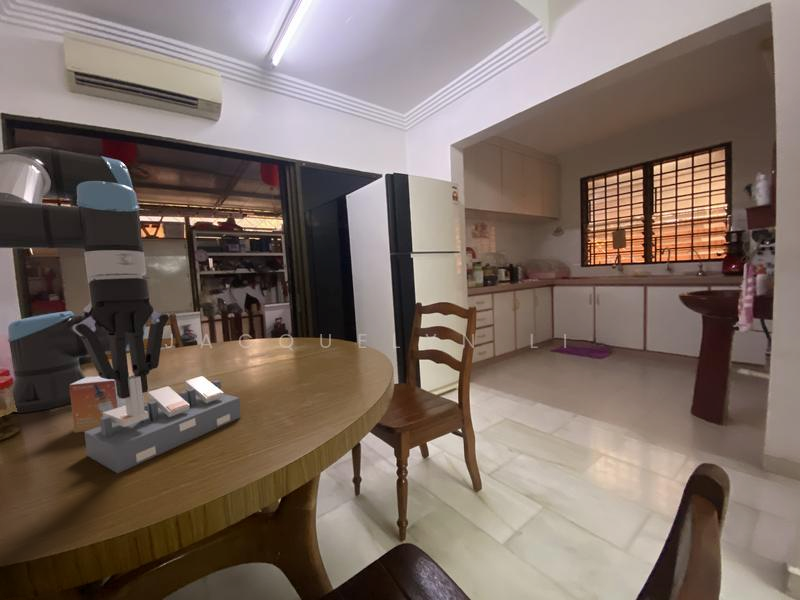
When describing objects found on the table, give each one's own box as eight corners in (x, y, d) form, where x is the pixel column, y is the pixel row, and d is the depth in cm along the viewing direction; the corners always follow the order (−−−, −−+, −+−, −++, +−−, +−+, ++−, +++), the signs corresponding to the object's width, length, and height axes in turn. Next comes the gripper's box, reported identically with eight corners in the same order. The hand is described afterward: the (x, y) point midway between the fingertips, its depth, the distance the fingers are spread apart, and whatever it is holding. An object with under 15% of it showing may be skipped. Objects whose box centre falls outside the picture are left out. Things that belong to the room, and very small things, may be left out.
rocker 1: (103, 418, 58) (102, 411, 58) (127, 410, 61) (126, 404, 61) (124, 426, 54) (123, 419, 54) (148, 418, 57) (147, 410, 57)
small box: (73, 434, 66) (67, 384, 65) (91, 422, 72) (85, 376, 71) (119, 427, 68) (114, 379, 67) (133, 416, 74) (128, 372, 73)
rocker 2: (147, 397, 64) (148, 391, 64) (167, 391, 67) (168, 385, 67) (169, 417, 61) (169, 411, 60) (189, 409, 64) (189, 403, 64)
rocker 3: (184, 385, 70) (185, 380, 70) (201, 380, 73) (202, 375, 73) (206, 403, 67) (206, 397, 67) (222, 397, 70) (223, 391, 70)
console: (87, 455, 58) (81, 414, 57) (208, 408, 77) (205, 376, 76) (118, 473, 52) (112, 427, 51) (241, 417, 71) (238, 383, 70)
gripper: (74, 278, 46) (95, 434, 48) (173, 275, 58) (187, 402, 60) (55, 280, 50) (76, 426, 52) (152, 278, 62) (166, 397, 63)
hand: (135, 413), depth 56 cm, fingers closed
